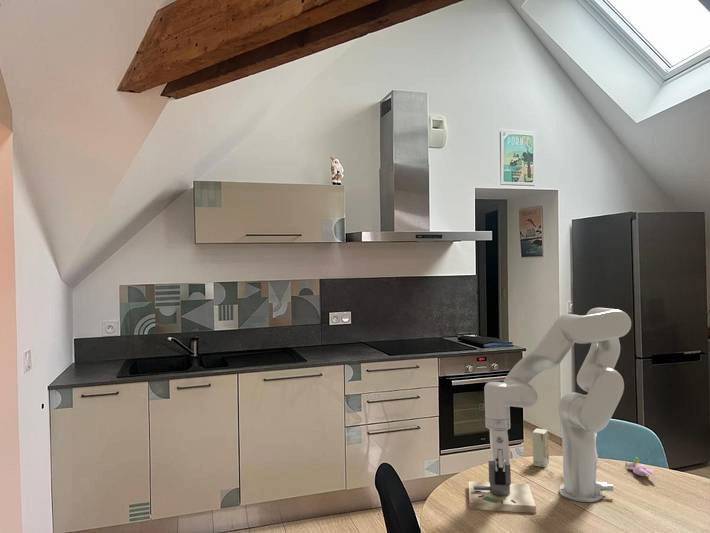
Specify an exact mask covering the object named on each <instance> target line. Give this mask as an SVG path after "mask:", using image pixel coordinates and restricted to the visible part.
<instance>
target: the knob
mask: <svg viewBox="0 0 710 533" xmlns="http://www.w3.org/2000/svg"><path fill="white" fill-rule="evenodd" d="M487 462H488V482H489V483H490V486H474V490H488V491H490V492H491V493H492V494H494V495H497V496H507V495H509V494H510V485H511V483H512V478H511V464H510V462H509V463H507V462H506V461H505V460H504V462H505V474H506V484H505V485H503V484H495V462H494V461H493V460H488V461H487ZM498 464H499V463H497V465H498Z"/></svg>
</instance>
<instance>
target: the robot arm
mask: <svg viewBox="0 0 710 533" xmlns="http://www.w3.org/2000/svg"><path fill="white" fill-rule="evenodd" d="M585 314H586V315H585ZM585 314H584V315H581V314H580V315H578V314H574V313H573V314H572V313H566V314H565V313H563V314H561V315H560V316H558V317H557V318H556V319H555V321H554V322H553V324H552V325H551V326H550V327H549V329H548V331H547V332H546V333H545V335H544V336H543V338H542V339H541V340H540V342H539V343H538V344H537V345H536V346H535V348H534V349H533V350H532V351H530V352H528V353H527V354H526V355H524V357H523V358H521V359H520V360H518V362H517V363H516V364H514V366H513V367H512V369H510V371H509V372H508V374H507V375H506V376H505V378H504V380H503V381H489V382H486V383H485V385H484V387H483V389H484V390H483V391H484V393H483V394H484V416H485V418H484V419H485V422H484V423H485V428H486V429H488V430H489V442H490V444H489V445H490V453H491V457H492V461H494V462H495V484H503V485H505V484H506V474H505V462H504V461H506V462H507V463H509V462H510V448H509V445H510V444H509V433H508V430H510V429H511V409H510V407H514V408H529V407H531V406H532V407H533V405H535V404H536V402H537V400H538V393H537V390H536V389H535V387H534V386H533V385H531V384H530V383H531V381H532V380H534V378H535V377H536V376H537V375H539V374H540V373H543V372H545V371H548V370H551V369H554V368H556V367H558V366H559V365H560V364H561V363H562V361H563V360H564V359H565V357H566V355H567V354H568V353H569V352H570V350H571V349H572V347H573V346H574V345H575V343H576V344H580V345H584V344H586V345H587V344H590V348H589V350H588V351H587V352H588V353H587V355H586V356H585V359H584V361H583V362H582V364H581V366H580V369H579V370H578V373H577V374H576V383H577V385H578V387H579V388H580V389H582V390H583V391H585V392H587V394H582V393H579V392H567V393H566V394H564V395H563V396H562V397H561V398H560V400H559V402H558V414H559V420H560V426H561V437H562V438H561V439H562V440H561V441H562V466H563V483H562V484H561V485H559V487H558V493H559V494H560V496H562V497H564V498H566V499H569V500H572V501H575V502H579V503H580V502H581V503H594V502H598V501H600V500H602V498H603V491H605V492H606V491H607V492H614V485H613V484H607V482H606V481H599V480H598V479H597V464H596V457H595V436H594V433H595V432H596V433H599V432H601V431H602V430H604V429H605V428H606V427H607V426H608V424H609V422H610V421H611V418H612V417H613V415H614V413H615V411H616V409H617V407H618V406H619V403H620V401H621V399H622V396H623V394H624V390H625V383H624V378H623V376H622V375H621V373H619V372H618V370H616V369H615V367H616V364H617V362H618V360H619V358H620V354H621V344H620V339H619V338H621V337H622V338H623V337H624V336H626V335H627V334H628V333H629V331H630V330H631V328H632V319H631V318H630V316H629V315H628V313H626V312H625V311H623V310H620V309H618V308H617V309H615V308H606V307H594V308H591V309H589V310H588V311H587V313H585ZM585 395H587V396H585ZM497 463H499V464H498V465H497Z"/></svg>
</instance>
